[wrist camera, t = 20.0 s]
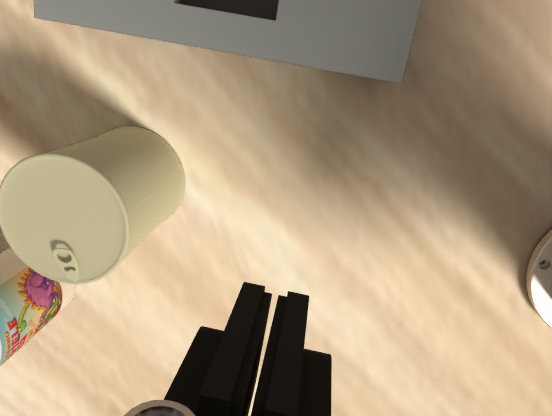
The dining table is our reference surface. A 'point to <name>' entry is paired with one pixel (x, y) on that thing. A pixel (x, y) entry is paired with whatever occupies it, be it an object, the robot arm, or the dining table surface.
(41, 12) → the box
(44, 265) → the can
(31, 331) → the milk bottle
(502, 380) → the dining table surface
